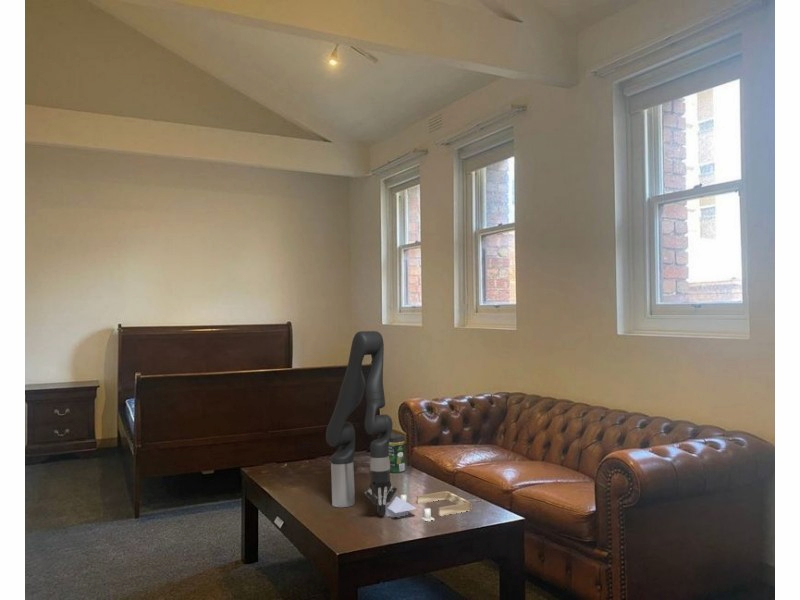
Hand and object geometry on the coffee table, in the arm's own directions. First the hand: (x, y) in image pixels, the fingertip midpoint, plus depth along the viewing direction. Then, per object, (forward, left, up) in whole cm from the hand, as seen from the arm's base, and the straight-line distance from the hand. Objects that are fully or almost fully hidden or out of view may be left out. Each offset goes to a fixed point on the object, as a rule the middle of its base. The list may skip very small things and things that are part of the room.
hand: (381, 514), depth 233 cm
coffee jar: (-62, +34, -2) cm, 71 cm away
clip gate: (0, +14, -2) cm, 14 cm away
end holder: (0, +26, -2) cm, 26 cm away
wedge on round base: (0, +7, -2) cm, 8 cm away
